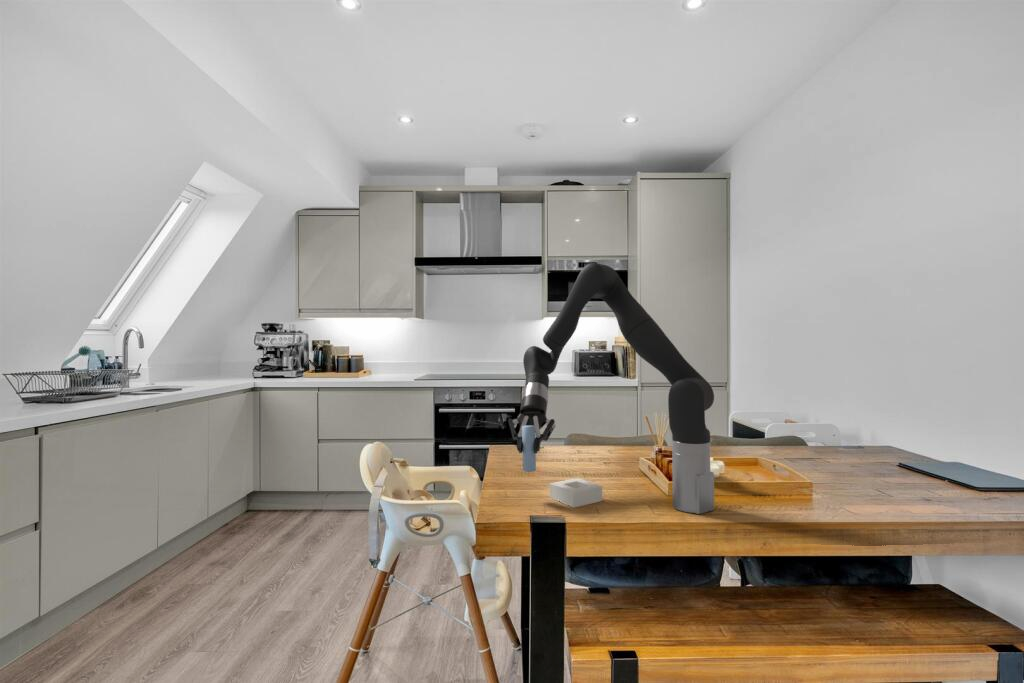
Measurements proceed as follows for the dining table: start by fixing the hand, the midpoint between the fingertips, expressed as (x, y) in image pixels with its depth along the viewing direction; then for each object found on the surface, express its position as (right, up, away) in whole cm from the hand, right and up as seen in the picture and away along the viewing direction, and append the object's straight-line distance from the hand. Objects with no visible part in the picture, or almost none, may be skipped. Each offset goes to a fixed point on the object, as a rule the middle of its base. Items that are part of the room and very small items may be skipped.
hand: (527, 451), depth 141 cm
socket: (+13, -13, +1) cm, 19 cm away
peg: (0, -6, +2) cm, 6 cm away
